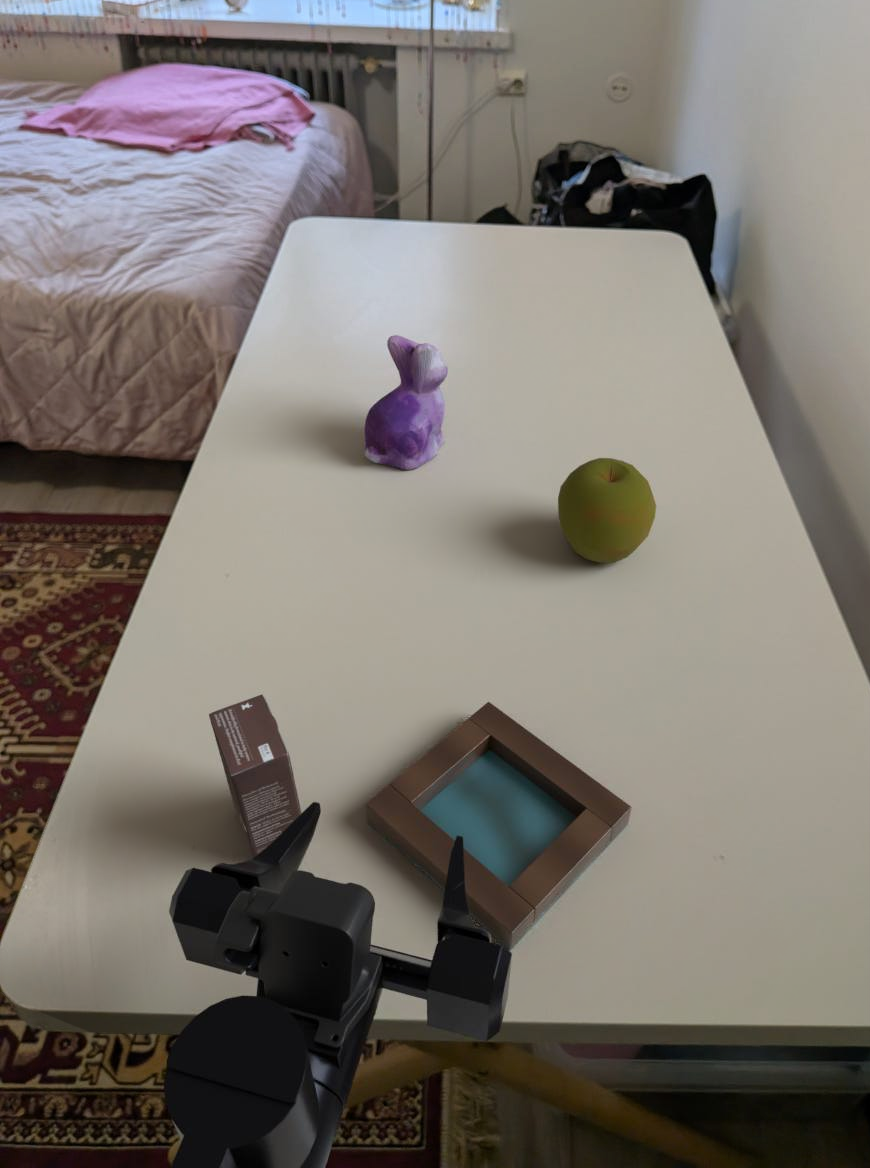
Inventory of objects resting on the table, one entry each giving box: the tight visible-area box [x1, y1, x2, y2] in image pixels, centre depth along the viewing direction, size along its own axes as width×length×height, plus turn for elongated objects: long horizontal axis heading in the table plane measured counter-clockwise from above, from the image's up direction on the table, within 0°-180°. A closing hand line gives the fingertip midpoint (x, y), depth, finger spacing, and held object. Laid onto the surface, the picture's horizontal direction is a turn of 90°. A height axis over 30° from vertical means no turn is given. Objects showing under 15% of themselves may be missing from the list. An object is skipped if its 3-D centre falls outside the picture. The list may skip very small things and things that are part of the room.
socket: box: [365, 701, 632, 951], centre depth 74 cm, size 14×15×2 cm
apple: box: [557, 457, 657, 564], centre depth 97 cm, size 10×10×11 cm
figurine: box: [364, 334, 449, 471], centre depth 109 cm, size 9×10×15 cm
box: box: [208, 694, 303, 858], centre depth 70 cm, size 6×4×12 cm
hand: (387, 822), depth 59 cm, fingers open, 9 cm apart
